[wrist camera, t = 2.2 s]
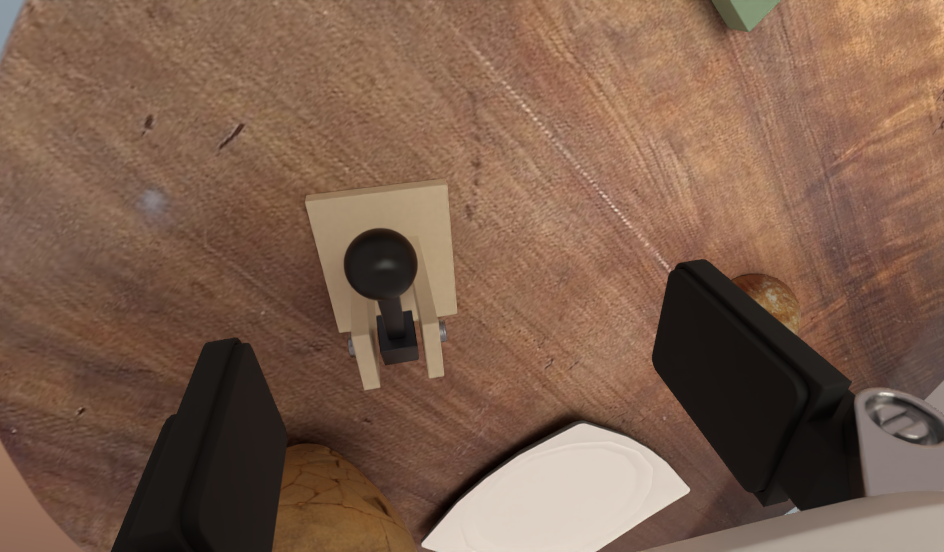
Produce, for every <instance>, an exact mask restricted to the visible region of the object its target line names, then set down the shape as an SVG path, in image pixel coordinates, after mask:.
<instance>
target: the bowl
mask: <svg viewBox="0 0 944 552" xmlns="http://www.w3.org/2000/svg"><path fill="white" fill-rule="evenodd" d="M272 552H418V551H417V548H416V545H415V542H414V539H413V537H412V535H411V533H410V531H409V530H408V528H407V526H406V524H405V523H404V521H403V520H402V518H401V517H400V515H399V514H398V513H397V511H396V510H395V509H394V507H393V506H392V505H391V503H390V502H389V501H388V499H387V498H386V497H385V496H384V495H383V494H382V493H381V492H380V490H379V489H378V488H377V487H376V486H375V485H374V484H373V483H371V482H370V481H369V480H368V479H367V478H366V476H365V475H364V474H363V473H362V472H361V471H360V470H358V469H357V468H356V467H354V466H353V465H352V464H351V463H350V462H349V461H348V460H347V459H345V458H344V457H343V456H341V455H340V454H339V453H337V452H336V451H333V450H331V449H330V448H328V447H326V446H323V445H319V444H310V443H309V444H298V445H294V446H291V447H288V448H286V455H285V463H284V470H283V477H282V484H281V491H280V498H279V505H278V512H277V519H276V527H275V534H274V541H273V548H272Z"/></svg>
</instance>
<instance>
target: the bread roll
mask: <svg viewBox="0 0 944 552" xmlns="http://www.w3.org/2000/svg"><path fill="white" fill-rule="evenodd" d="M731 281H732V282H734V283H735V284H736V285H737V286H738V287H739V288H741V289H742V290H743V291H744V292H745V293H747V294H748V295H749V296H750V297H751V298H753V299H754V300H755V301H756V302H757V303H759V304H760V305H761V306H762V307H763V308H764V309H766V310H767V311H768V312H769V313H770V314H772V315H773V316H774V317H775V318H776V319H778V320H779V321H780V322H781V323H782V324H784V325H785V326H786V327H787V328H788V329H789V330H791V331H792V332H793V333H794V334H795V335H797V334H798V329H799V324H800V317H801V313H800V306H799V302H798V300H797V298H796V296H795V295H794V293H793V292H792V290H791V289H790V288H789V287H788V286H787V285H786V284H784V283H783V282H782V281H780V280H778V279H777V278H774V277H771V276H768V275H763V274H749V275H745V276H740V277H737V278H735V279H733V280H731Z"/></svg>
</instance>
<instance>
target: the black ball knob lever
mask: <svg viewBox="0 0 944 552" xmlns="http://www.w3.org/2000/svg"><path fill="white" fill-rule="evenodd" d="M417 270H418V260H417V255H416V252H415V249H414V247H413V246H412V244H411V243H410V242H409V240H408V239H407V238H406V237H404V236H403V235H402V234H400V233H399V232H397V231H394V230H391V229H387V228H374V229H370V230H367V231H364V232H362V233H361V234H359V235H358V236H357V237H355V238H354V239H353V241H352V242H351V243H350V244H349V246H348V248H347V250H346V253H345V256H344V272H345V276H346V278H347V280H348V282H349V284H350V285H351V287H352V288H353V289H354V290H355V291H356V292H357V293H359V294H360V295H361V296H363V297H365V298H368V299H371V300H375V301H377V302H378V306H379V309H380V312H381V315H377V316H376V321H377V329H378V337H379V346H380V353H381V355H382V358H383V361H384V364H385V365H390V364H396V363H402V362H407V361H413V360H418V359H419V354H418V346H417V340H416V333H415V327H414V320H413V314H412V310H408V311H402V305H401V299H400V295H402V294H403V293H405V292H406V291H407V290H408V289H409V288H410V286H411V285H412V283H413V282H414V280H415V277H416V274H417Z"/></svg>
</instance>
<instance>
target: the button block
mask: <svg viewBox="0 0 944 552" xmlns="http://www.w3.org/2000/svg"><path fill="white" fill-rule="evenodd" d="M711 1H712V2H713V4H714V6H715V7H716V9H717V11H718V12H719V14H720V15H721V17H722V19H723V20H724V22H725V24H726V25H727V27H728V28H729V29H734V30H740V31H745V32H750V31H751V30H752V29H753V28H754V27H755V26H756V25H757V24H758V23H759V22H760V21H761V20H762V19H763V18H764V17H765V16H766V15H767V14H768V13H769V12H770V11H771V10H772V9H773V8H774V7H775V6H776V5H777V4H778V3H779V2H780V1H781V0H711Z"/></svg>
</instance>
